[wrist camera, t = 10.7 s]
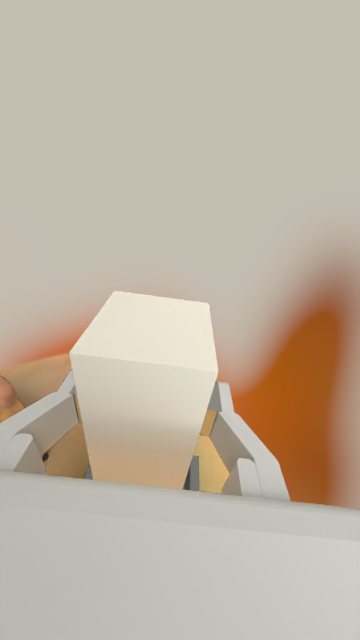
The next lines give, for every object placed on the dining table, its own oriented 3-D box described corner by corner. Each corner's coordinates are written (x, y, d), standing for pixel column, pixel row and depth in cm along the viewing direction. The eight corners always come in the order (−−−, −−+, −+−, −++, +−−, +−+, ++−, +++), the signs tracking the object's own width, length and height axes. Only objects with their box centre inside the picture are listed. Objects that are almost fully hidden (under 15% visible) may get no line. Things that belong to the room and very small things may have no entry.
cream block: (97, 503, 11) (69, 352, 6) (119, 428, 14) (114, 290, 9) (175, 511, 11) (218, 371, 6) (179, 435, 15) (208, 303, 9)
